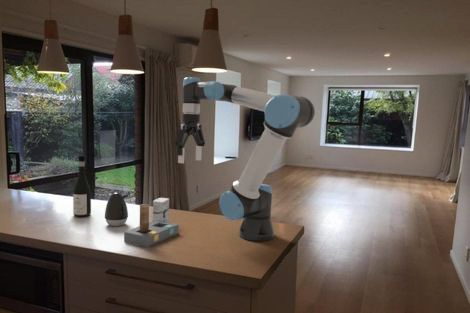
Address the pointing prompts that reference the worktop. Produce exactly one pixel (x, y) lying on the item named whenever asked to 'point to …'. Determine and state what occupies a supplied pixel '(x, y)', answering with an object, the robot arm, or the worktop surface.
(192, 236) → the worktop surface
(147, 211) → the walnut plug
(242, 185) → the robot arm
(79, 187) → the wine bottle
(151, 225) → the socket box
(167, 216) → the ink box
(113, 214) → the pump dispenser
